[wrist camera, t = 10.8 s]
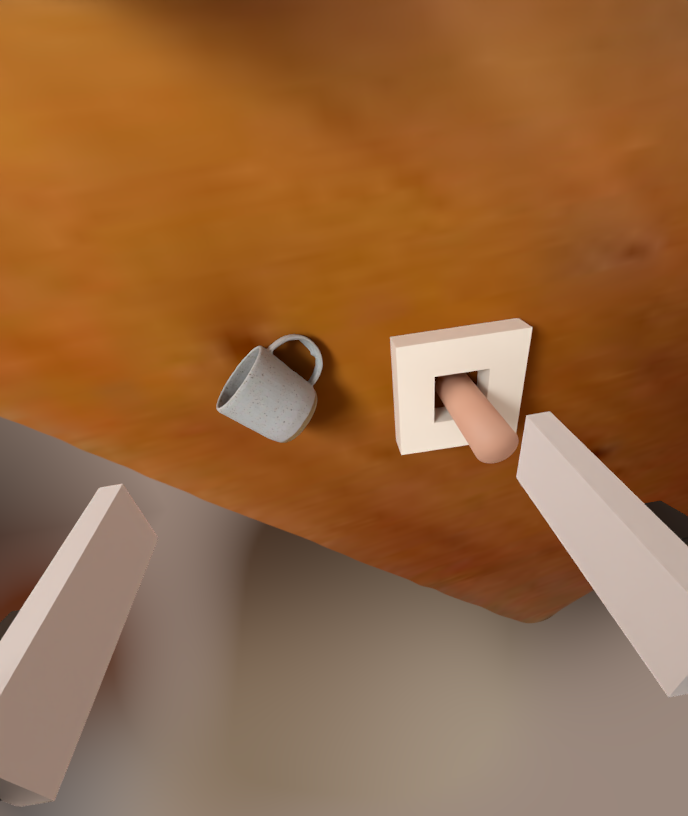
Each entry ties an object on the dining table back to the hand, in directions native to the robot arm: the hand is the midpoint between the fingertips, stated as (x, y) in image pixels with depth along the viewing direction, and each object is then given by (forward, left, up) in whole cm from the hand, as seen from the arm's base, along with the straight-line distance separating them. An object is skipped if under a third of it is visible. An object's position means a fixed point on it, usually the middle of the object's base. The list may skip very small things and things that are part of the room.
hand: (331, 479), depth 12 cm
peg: (+14, +14, -28) cm, 34 cm away
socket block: (+14, +14, -28) cm, 34 cm away
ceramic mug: (+9, -6, -28) cm, 30 cm away
